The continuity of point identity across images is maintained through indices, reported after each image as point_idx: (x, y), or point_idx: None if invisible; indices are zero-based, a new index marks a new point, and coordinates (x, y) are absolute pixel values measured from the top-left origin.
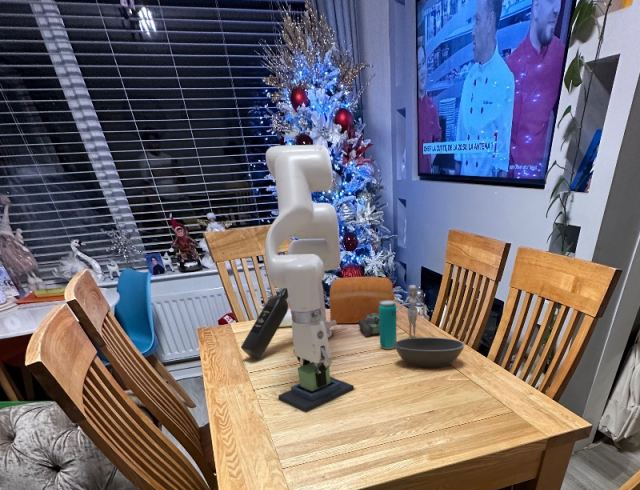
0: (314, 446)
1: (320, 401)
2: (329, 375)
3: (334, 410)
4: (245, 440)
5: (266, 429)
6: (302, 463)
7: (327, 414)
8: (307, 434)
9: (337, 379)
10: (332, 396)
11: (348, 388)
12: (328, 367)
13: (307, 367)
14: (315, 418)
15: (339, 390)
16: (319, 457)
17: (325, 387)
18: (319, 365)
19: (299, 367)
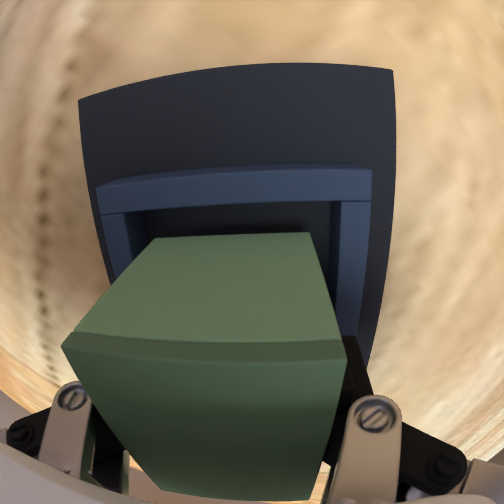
0: (467, 432)
1: (369, 356)
2: (319, 271)
3: (446, 328)
4: (316, 493)
5: (319, 474)
6: (465, 452)
7: (436, 362)
8: (433, 433)
9: (199, 70)
10: (383, 277)
11: (393, 123)
12: (337, 335)
13: (207, 480)
14: (410, 398)
15: (378, 200)
16: (487, 432)
17: (251, 231)
18: (255, 434)
19: (164, 487)
